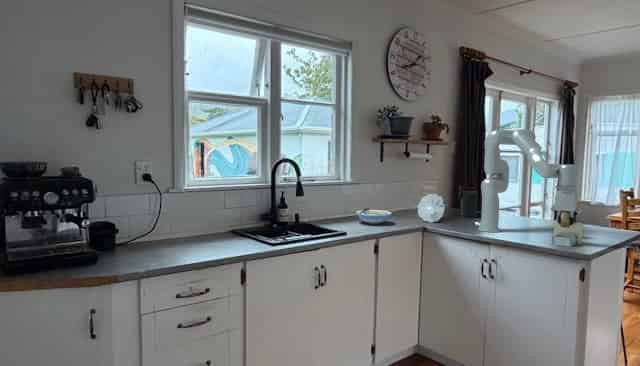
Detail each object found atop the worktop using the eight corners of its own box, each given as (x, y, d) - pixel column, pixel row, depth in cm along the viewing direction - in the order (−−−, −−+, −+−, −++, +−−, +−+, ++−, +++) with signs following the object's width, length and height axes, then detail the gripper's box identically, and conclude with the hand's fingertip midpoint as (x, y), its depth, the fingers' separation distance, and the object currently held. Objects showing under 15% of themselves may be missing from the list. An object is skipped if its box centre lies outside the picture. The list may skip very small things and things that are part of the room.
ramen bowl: (388, 227, 257) (388, 214, 257) (351, 225, 264) (351, 212, 264) (394, 221, 281) (394, 209, 280) (360, 219, 288) (361, 207, 287)
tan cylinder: (559, 226, 216) (559, 211, 215) (561, 225, 219) (562, 210, 218) (568, 228, 213) (569, 212, 212) (571, 226, 216) (571, 211, 215)
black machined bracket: (472, 214, 317) (474, 185, 315) (477, 218, 297) (479, 187, 295) (456, 213, 319) (457, 184, 317) (460, 218, 299) (461, 187, 297)
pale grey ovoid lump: (423, 228, 277) (425, 221, 301) (449, 218, 272) (449, 211, 296) (411, 203, 278) (414, 197, 301) (437, 193, 272) (438, 188, 296)
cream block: (547, 243, 218) (548, 222, 217) (553, 240, 226) (555, 219, 225) (575, 247, 209) (577, 225, 208) (581, 244, 217) (582, 222, 216)
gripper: (546, 188, 218) (545, 223, 219) (584, 190, 206) (582, 227, 207) (551, 187, 223) (549, 221, 224) (587, 189, 211) (586, 225, 213)
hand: (565, 223), depth 216 cm, fingers closed on tan cylinder, 4 cm apart
